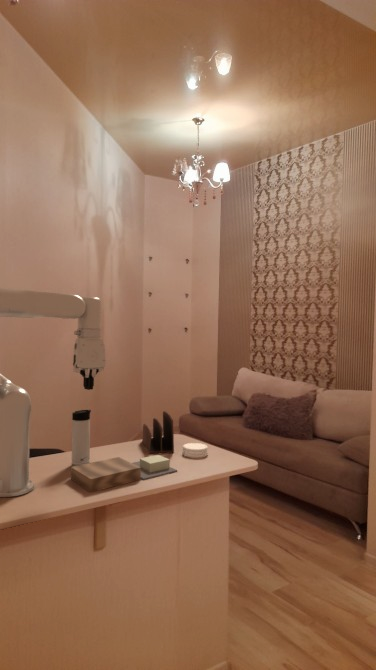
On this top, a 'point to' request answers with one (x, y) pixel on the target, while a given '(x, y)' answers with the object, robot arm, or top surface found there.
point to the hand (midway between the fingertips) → (88, 389)
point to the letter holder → (159, 436)
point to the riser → (105, 474)
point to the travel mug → (80, 437)
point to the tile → (154, 463)
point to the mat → (148, 475)
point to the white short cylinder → (195, 450)
